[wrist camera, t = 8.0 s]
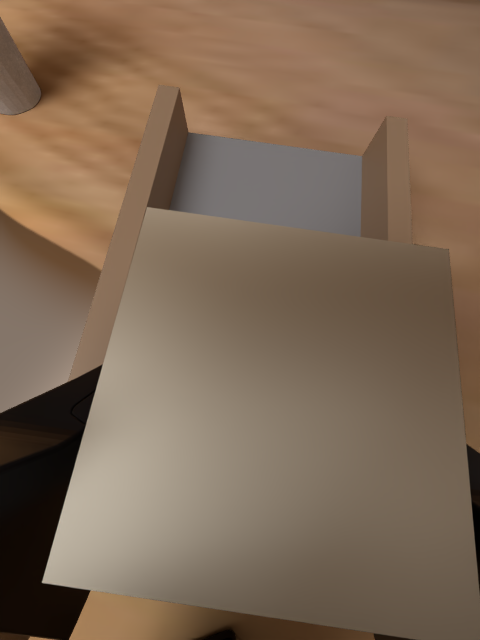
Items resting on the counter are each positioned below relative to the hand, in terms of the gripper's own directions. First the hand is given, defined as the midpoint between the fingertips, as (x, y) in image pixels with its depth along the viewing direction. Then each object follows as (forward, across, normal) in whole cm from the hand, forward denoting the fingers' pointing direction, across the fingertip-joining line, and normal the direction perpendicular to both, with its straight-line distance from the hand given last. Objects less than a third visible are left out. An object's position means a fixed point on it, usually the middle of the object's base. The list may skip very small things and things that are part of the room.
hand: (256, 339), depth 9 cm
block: (+2, 0, +4) cm, 5 cm away
